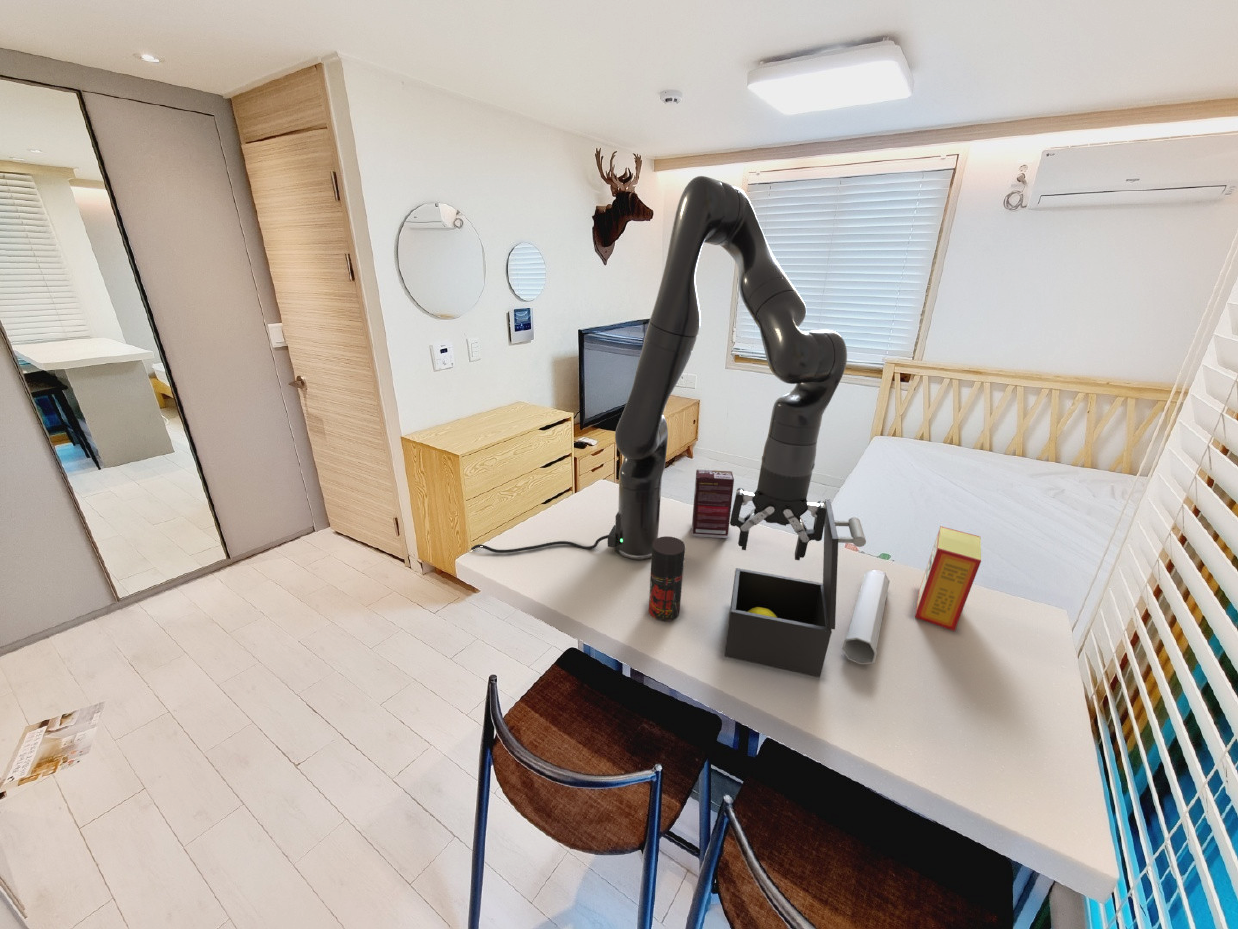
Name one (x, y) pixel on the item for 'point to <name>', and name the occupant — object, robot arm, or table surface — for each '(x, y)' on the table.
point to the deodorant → (666, 578)
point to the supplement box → (712, 503)
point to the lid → (836, 555)
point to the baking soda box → (948, 577)
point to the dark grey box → (778, 622)
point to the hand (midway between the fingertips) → (769, 552)
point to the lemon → (762, 611)
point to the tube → (867, 619)
